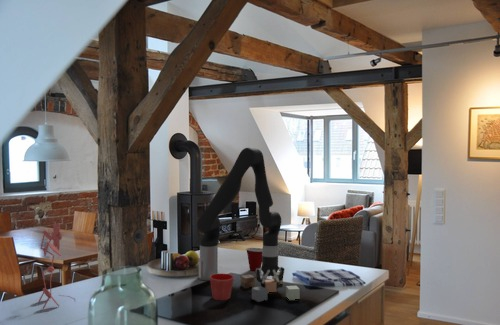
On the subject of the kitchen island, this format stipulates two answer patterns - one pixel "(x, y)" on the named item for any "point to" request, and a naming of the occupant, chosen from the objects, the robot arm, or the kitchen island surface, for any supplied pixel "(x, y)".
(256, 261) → the plastic cup
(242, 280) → the walnut cube
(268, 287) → the terracotta cube
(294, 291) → the sage cube
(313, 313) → the kitchen island surface
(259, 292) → the slate cube
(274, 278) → the oak cube
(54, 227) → the figurine
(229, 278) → the flower pot
